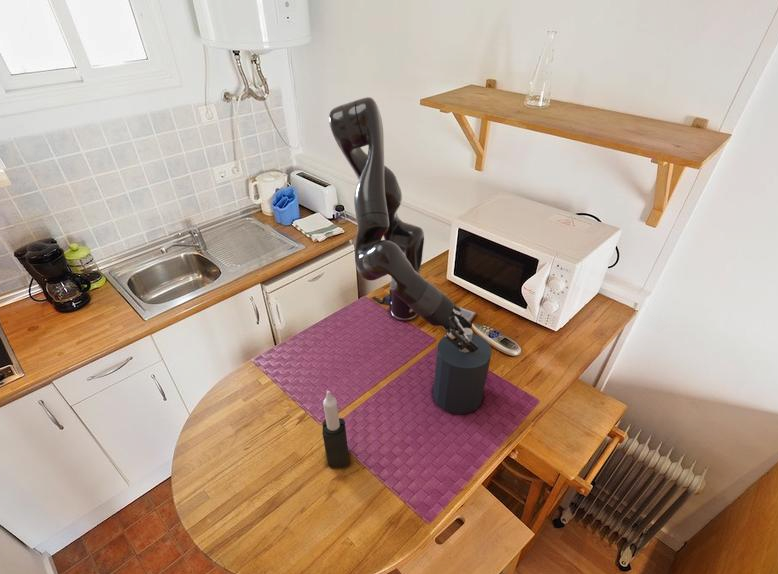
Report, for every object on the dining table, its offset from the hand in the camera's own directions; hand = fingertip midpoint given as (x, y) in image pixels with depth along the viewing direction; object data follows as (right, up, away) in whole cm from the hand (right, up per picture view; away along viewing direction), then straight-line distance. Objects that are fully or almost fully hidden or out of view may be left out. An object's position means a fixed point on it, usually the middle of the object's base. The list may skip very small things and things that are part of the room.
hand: (472, 338), depth 108 cm
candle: (-34, -30, -1) cm, 45 cm away
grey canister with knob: (-1, -16, +14) cm, 21 cm away
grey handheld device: (+4, +6, +39) cm, 40 cm away
